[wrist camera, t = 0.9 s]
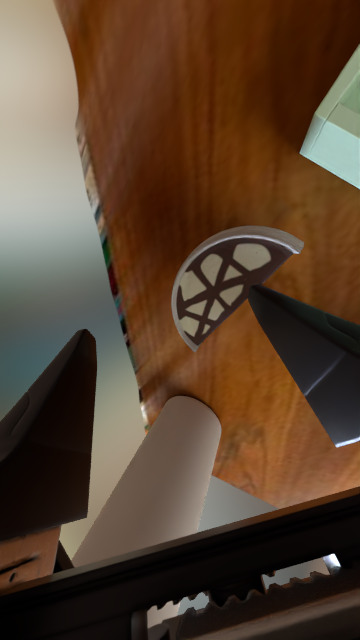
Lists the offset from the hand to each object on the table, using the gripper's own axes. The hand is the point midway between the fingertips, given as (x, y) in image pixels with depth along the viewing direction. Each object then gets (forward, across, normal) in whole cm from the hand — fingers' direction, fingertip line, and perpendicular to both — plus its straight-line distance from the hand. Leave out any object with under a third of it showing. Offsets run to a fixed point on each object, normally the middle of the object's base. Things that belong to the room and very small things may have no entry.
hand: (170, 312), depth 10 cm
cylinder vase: (+4, +2, +35) cm, 35 cm away
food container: (+12, -8, +6) cm, 16 cm away
